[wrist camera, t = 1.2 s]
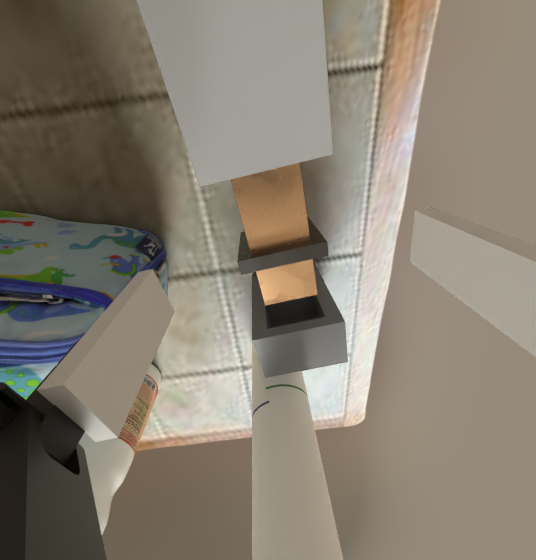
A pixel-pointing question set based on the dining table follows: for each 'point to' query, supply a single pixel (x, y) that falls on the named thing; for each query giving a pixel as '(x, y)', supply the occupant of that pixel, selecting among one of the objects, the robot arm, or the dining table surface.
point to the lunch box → (61, 286)
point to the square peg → (278, 234)
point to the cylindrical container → (287, 474)
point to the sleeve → (244, 81)
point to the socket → (297, 331)
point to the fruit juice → (119, 448)
